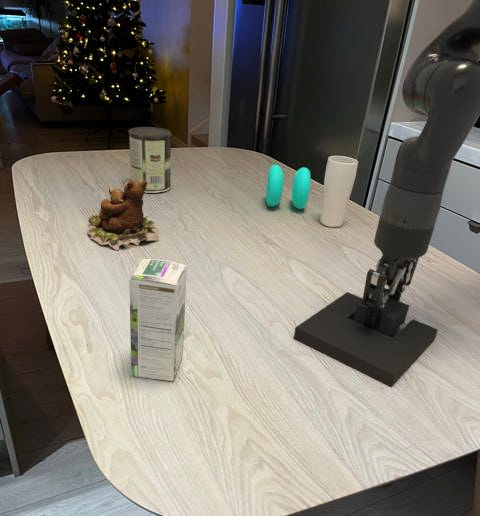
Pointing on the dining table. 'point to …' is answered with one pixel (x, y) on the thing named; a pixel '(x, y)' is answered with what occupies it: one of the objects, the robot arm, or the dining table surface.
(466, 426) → the dining table surface
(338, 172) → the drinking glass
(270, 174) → the teal wheel pair
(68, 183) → the dining table surface
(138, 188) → the bear figurine
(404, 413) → the dining table surface
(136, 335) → the syrup box
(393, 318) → the graphite block
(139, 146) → the coffee can
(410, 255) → the robot arm
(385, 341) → the black notched slab
